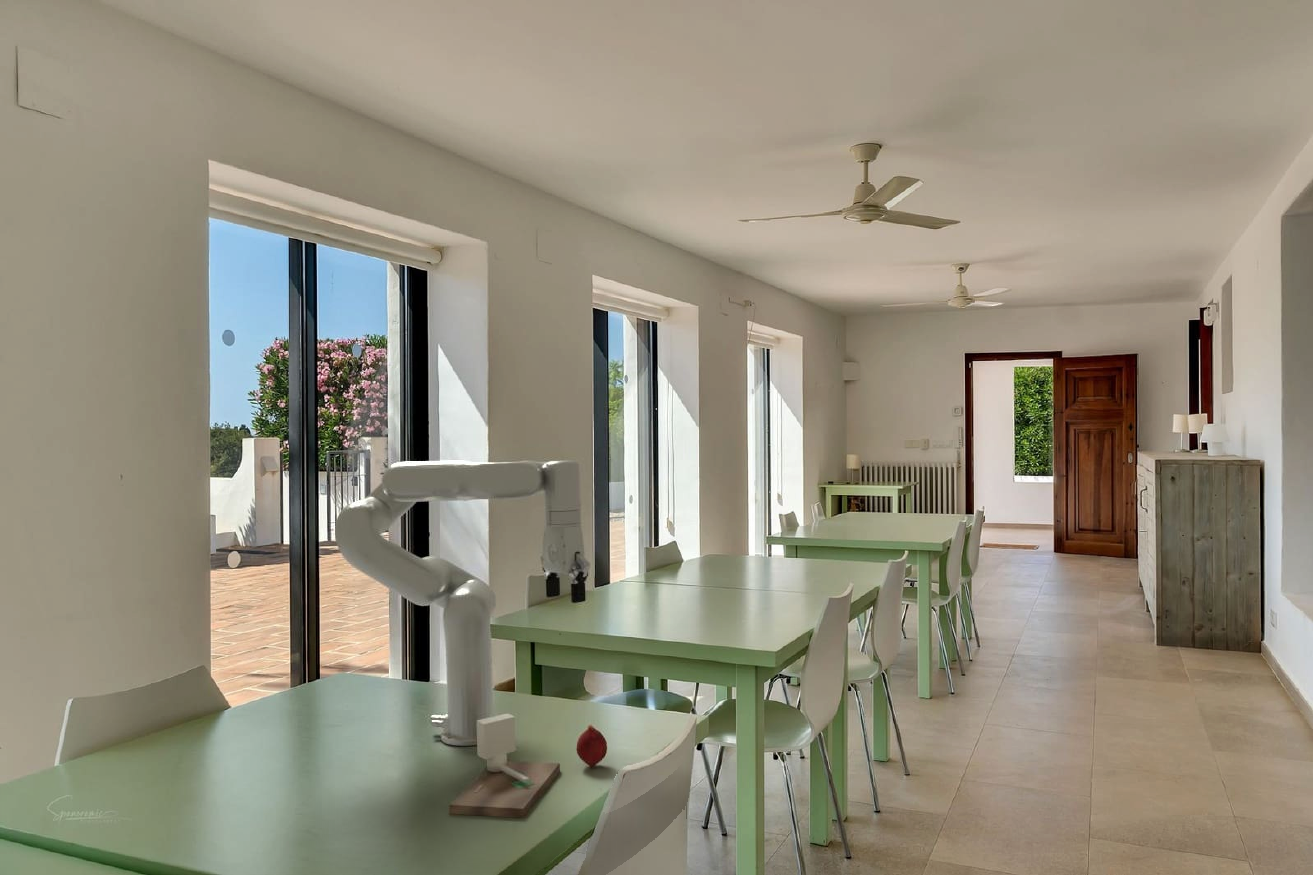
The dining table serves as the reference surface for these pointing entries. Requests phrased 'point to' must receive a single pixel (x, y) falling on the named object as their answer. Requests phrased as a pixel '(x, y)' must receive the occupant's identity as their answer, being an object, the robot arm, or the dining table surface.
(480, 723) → the tuning peg
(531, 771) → the board
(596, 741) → the onion
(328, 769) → the dining table surface
